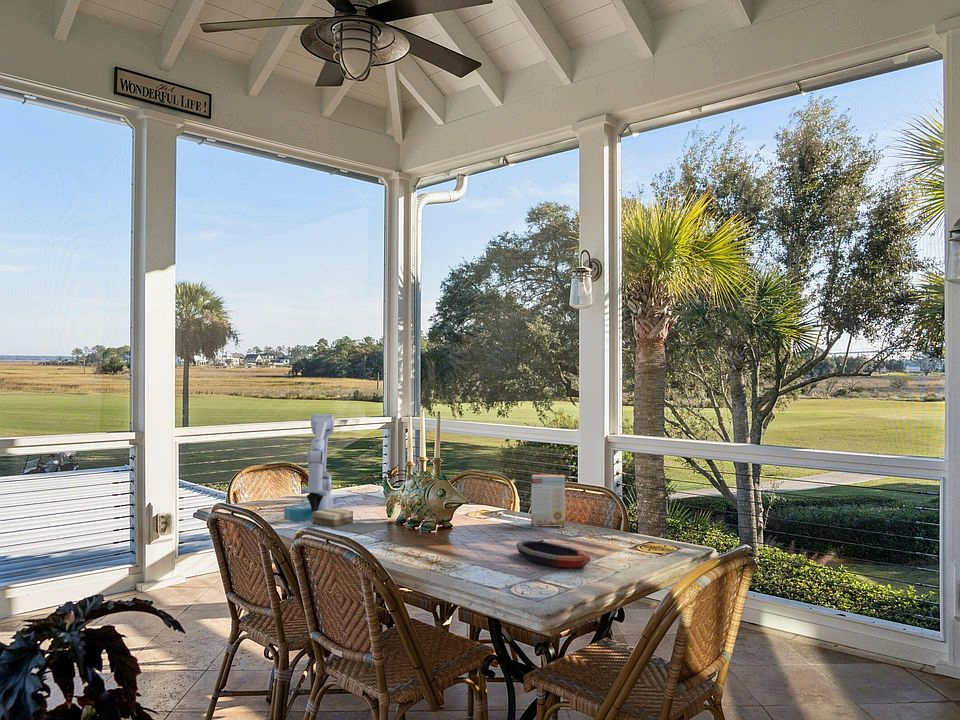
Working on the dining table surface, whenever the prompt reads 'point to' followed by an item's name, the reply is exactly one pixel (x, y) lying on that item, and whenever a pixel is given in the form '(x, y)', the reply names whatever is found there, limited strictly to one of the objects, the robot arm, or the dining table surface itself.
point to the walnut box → (332, 521)
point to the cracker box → (548, 500)
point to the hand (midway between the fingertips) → (314, 511)
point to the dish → (552, 554)
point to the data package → (299, 513)
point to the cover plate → (332, 513)
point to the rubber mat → (359, 527)
